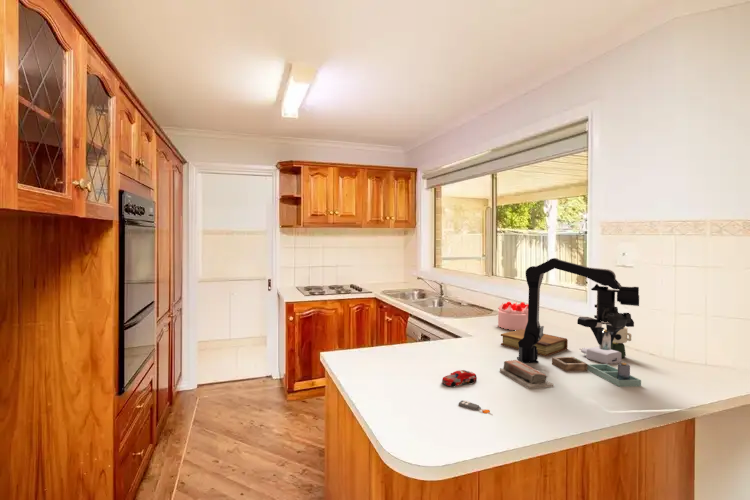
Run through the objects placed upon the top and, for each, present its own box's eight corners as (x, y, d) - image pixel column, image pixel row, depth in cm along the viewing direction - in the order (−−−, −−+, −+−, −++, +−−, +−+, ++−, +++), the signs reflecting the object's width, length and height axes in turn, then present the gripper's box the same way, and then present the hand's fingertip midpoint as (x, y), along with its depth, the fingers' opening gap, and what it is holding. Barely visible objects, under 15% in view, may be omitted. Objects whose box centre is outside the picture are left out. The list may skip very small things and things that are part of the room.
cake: (530, 333, 204) (530, 307, 204) (493, 328, 215) (493, 303, 215) (536, 326, 221) (537, 302, 220) (502, 322, 232) (502, 299, 231)
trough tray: (618, 387, 127) (619, 380, 127) (586, 370, 144) (586, 364, 144) (641, 387, 128) (641, 380, 128) (606, 370, 145) (606, 363, 145)
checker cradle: (564, 372, 143) (565, 363, 142) (551, 364, 152) (552, 356, 151) (587, 371, 143) (587, 363, 143) (573, 364, 152) (573, 356, 152)
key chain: (457, 407, 113) (457, 402, 113) (462, 403, 116) (462, 398, 116) (499, 420, 105) (499, 415, 105) (504, 415, 107) (504, 410, 107)
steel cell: (597, 347, 142) (597, 329, 141) (606, 347, 142) (606, 329, 142) (603, 350, 138) (604, 331, 138) (612, 350, 138) (613, 331, 138)
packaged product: (498, 360, 143) (521, 358, 146) (498, 372, 143) (520, 370, 146) (529, 376, 126) (554, 373, 128) (529, 390, 126) (554, 387, 128)
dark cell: (622, 385, 129) (622, 364, 129) (614, 381, 132) (615, 361, 132) (632, 384, 129) (632, 364, 129) (624, 380, 133) (624, 361, 132)
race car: (447, 389, 126) (447, 377, 126) (438, 383, 131) (438, 372, 131) (479, 383, 132) (479, 372, 131) (469, 378, 137) (469, 367, 137)
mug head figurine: (599, 354, 166) (600, 325, 165) (608, 352, 169) (608, 323, 169) (626, 361, 156) (627, 330, 156) (634, 358, 160) (635, 328, 160)
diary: (567, 350, 174) (567, 338, 174) (546, 357, 163) (546, 344, 162) (522, 339, 192) (522, 328, 192) (500, 345, 181) (500, 333, 181)
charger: (587, 352, 169) (621, 362, 155) (573, 355, 165) (607, 365, 151) (587, 342, 169) (621, 351, 155) (573, 344, 165) (607, 354, 151)
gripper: (596, 307, 131) (595, 351, 131) (646, 306, 132) (645, 350, 133) (576, 301, 142) (576, 342, 142) (623, 301, 143) (622, 342, 144)
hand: (604, 344), depth 140 cm, fingers closed on steel cell, 4 cm apart
